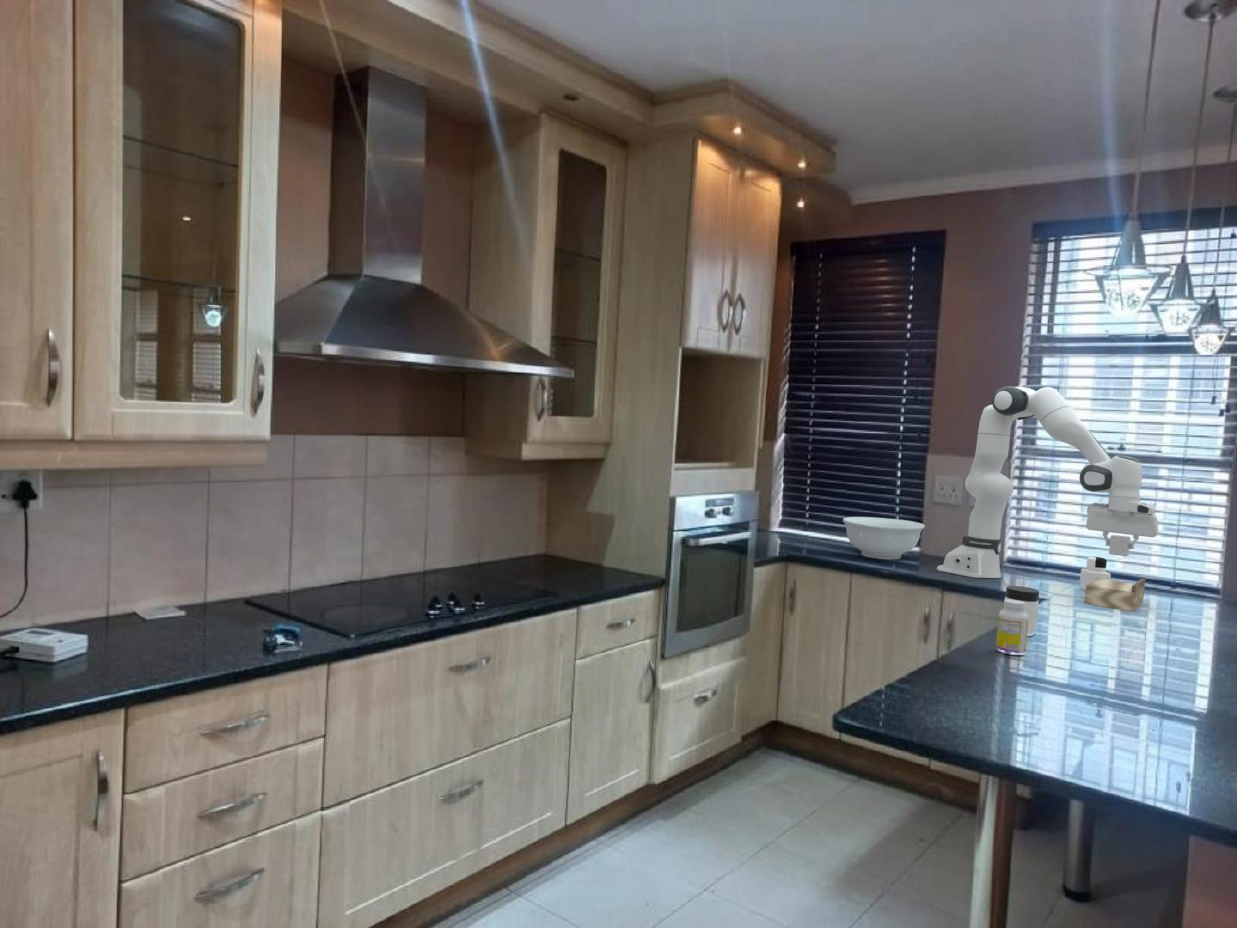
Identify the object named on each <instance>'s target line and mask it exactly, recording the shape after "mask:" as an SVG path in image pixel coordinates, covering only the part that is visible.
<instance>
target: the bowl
mask: <svg viewBox="0 0 1237 928" xmlns="http://www.w3.org/2000/svg"><path fill="white" fill-rule="evenodd" d="M842 522H843V523H844V525H845V529H846V536H847V539H848V540H849V542H850V544H851V545H852V546H854V547H855V548H857V549H858V550H860V551H861V555H862V556H863V557H866V558H871V559H876V558H877V560H892V561H893V560H900V559H901V558H902V555H903V554H905V553H908V552H910V551H912V550H913V549H914V548H915V547H916V545H918V542H919V540H920V535H921V532H922V530H924V529H925V527H926V526H925V524H923V523H920V522H917V521H912V520H905V519H898V518H886V517H874V516H873V517H872V516H849V517H844V518H842Z"/></svg>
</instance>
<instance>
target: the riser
mask: <svg viewBox="0 0 1237 928" xmlns="http://www.w3.org/2000/svg"><path fill="white" fill-rule="evenodd" d="M1145 586H1146V578H1140V579H1139V580H1137V582H1135V583H1132V582H1126V581H1119V580H1113V579H1110V580H1108V579H1101V578H1096V579H1095V580H1093V581H1092V582H1090V583H1089V584H1087V585H1086V591H1085V590H1084V592H1085V593H1084V602H1083V603H1084V604H1085V603H1088V604H1087V605H1093V606H1097V607H1104V608H1110V609H1116V610H1121V611H1127V612H1133V613H1134V612H1135V611H1136V610H1138V608H1139V607H1140V606H1142V604H1144V595H1145Z"/></svg>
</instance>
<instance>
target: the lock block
mask: <svg viewBox="0 0 1237 928" xmlns="http://www.w3.org/2000/svg"><path fill="white" fill-rule="evenodd" d="M1109 540H1110V546H1108V549H1109V550H1108V555H1112V556H1119V557H1120V556H1121V557H1128V556H1129V555H1130V549H1128V543H1131V536H1129V535H1128V536H1127V535H1120V534H1119V535H1117V534H1112V535H1110V539H1109Z"/></svg>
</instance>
